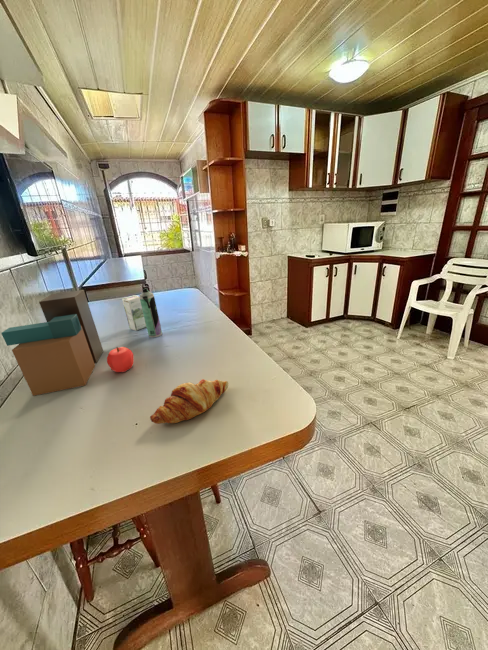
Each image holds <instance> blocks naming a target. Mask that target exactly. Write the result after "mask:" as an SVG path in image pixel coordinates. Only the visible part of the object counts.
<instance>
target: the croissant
mask: <svg viewBox="0 0 488 650" xmlns="http://www.w3.org/2000/svg"><path fill="white" fill-rule="evenodd" d="M228 387H229V381H227V380H225V381H223V380H220V379H215V380H207V379H204V378H202V379H200V380H199V382H198V383H193V382H185V383H181V384H179V385H177V386H176V387H175V388H174V389H173V390H171V394H170V395H169V397H166V398H165V399H164V401H163V405H160V406H159V407H158V408H156V410H155V412H153V414H151V415H150V416H149V419H150V421H151V422H152V423H154V424H166V423H167V424H176V423H180V422H182V421H188V420H191V419H193V418H195V417H197V416H199V415H201V414H203V413H205V412H206V411H208V410H209V409H211V408H212V406H213V404H214V403H216V402H217V401H218V400H219V399H220V397H221V395H223V394H224V393H225V392H226V391H227V390H228Z"/></svg>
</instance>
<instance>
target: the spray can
mask: <svg viewBox="0 0 488 650" xmlns="http://www.w3.org/2000/svg"><path fill="white" fill-rule="evenodd" d="M138 296H139V297H140V302H141V306H142V310H143V314H144V318H145V323H146V327H145V328H146V331H147V334H148V337H149V338H154V339H155V338H159V337H161V336H162V335H163V331H162V327H161V321H160V316H159V312H158V308H157V303H156V299H155V295H154V293H153V292H151V291H150V290H149V289H148V288H147V287H144V288H142V291H141V293H140V294H139V295H138Z"/></svg>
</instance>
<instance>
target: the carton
mask: <svg viewBox="0 0 488 650" xmlns="http://www.w3.org/2000/svg"><path fill="white" fill-rule="evenodd" d="M81 328H82V326H81ZM11 352H12V354H13V356H14V358H15V361H16V363H17V365H18V368H20V371H21V373H22V375H23V377H24V378H23V379H24V380H25V382H26V384H27V387H28V388H29V390H30V392H31V395H32V396H33V397H35V396H37V395H38V396H39V395H44V394H48V393H49V394H50V393H54V392H60V391H64V390H70V389H73V388H80V387H84V386H86V385H87V382H88V381H89V380H90V377H91V375H92V374H93V371H94V369H95V368H96V363H95V364H94V361H93V358H92V355H91V352H90V349H89V346H88V343H87V340H86V337H85V334H84V331H83V329H81V331H80V332H79V333H78V334H77V335H75V336H69V337H62V338H56V339H54V338H53V339H46V340H40V341H34V342H28V343H22V344H16V346H15V347H13V348H12V349H11Z"/></svg>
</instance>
